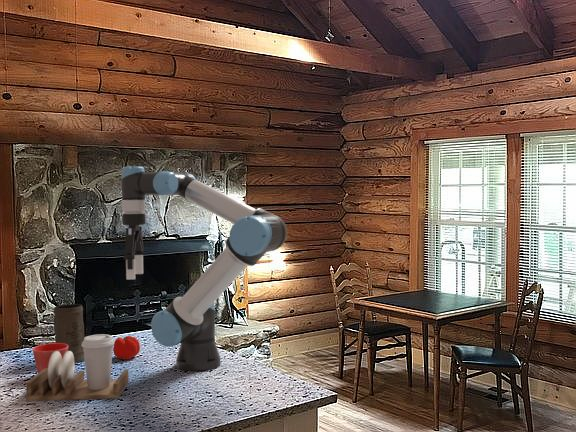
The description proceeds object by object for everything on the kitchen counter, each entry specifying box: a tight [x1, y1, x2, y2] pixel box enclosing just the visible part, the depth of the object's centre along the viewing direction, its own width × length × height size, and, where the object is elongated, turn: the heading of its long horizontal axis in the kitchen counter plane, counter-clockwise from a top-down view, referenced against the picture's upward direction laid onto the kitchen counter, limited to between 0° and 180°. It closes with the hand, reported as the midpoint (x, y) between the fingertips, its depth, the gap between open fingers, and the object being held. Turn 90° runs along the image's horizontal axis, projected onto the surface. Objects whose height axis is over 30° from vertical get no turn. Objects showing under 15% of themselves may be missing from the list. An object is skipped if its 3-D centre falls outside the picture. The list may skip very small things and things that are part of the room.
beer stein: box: [53, 303, 85, 364], centre depth 226 cm, size 15×11×20 cm
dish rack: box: [25, 351, 130, 402], centre depth 189 cm, size 26×15×12 cm, turn 92°
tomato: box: [112, 335, 141, 360], centre depth 227 cm, size 9×9×8 cm
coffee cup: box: [81, 333, 115, 390], centre depth 189 cm, size 10×10×15 cm
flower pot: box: [32, 342, 69, 374], centre depth 205 cm, size 11×11×10 cm
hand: (135, 276), depth 209 cm, fingers open, 13 cm apart
